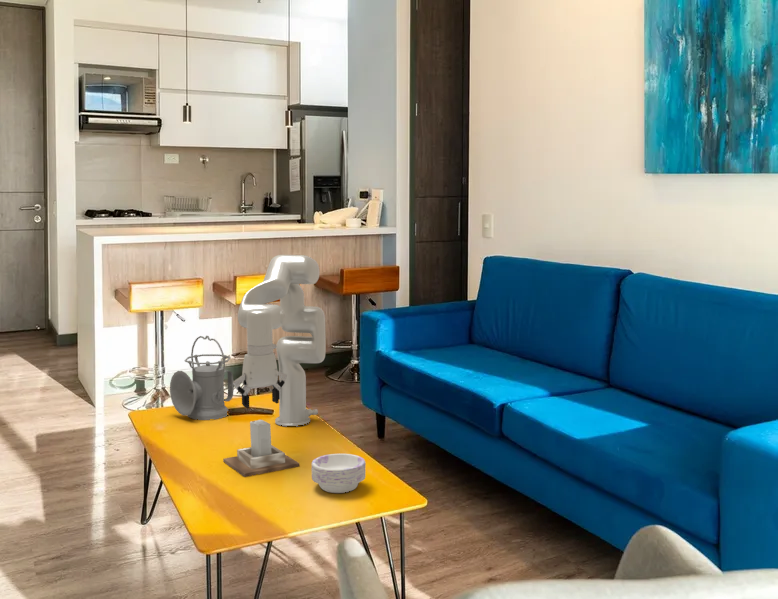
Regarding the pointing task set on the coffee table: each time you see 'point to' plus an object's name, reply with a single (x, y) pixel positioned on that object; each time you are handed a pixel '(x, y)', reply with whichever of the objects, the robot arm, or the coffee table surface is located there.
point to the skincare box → (260, 438)
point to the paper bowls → (338, 472)
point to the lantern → (202, 388)
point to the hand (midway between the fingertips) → (261, 404)
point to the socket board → (259, 462)
